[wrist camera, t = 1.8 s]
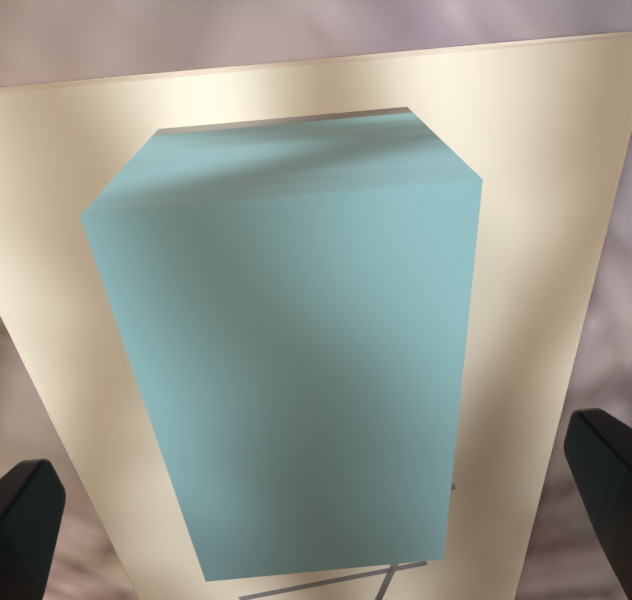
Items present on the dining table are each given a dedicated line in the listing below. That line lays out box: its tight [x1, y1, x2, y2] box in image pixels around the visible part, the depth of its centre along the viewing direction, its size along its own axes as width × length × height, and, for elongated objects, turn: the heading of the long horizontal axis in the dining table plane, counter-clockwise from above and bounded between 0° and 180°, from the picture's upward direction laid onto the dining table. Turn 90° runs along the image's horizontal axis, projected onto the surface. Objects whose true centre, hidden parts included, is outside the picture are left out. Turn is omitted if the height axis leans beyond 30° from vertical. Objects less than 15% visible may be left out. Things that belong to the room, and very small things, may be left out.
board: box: [0, 31, 632, 600], centre depth 18 cm, size 16×26×1 cm, turn 4°
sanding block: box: [80, 107, 483, 582], centre depth 11 cm, size 6×9×5 cm, turn 4°
